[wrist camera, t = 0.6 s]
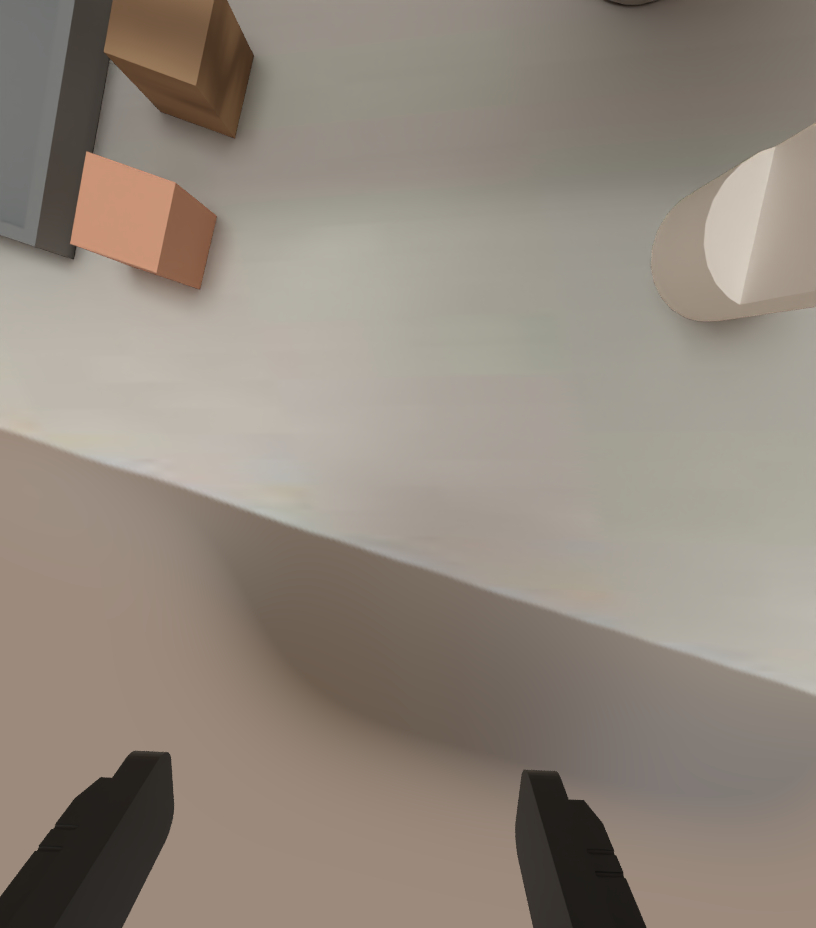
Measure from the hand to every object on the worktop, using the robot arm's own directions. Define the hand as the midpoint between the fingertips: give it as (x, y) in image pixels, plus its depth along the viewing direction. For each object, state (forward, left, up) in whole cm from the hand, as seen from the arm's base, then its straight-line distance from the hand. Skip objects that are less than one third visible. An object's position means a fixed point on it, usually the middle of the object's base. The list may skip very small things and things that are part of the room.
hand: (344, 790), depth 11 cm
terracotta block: (-12, -19, -26) cm, 35 cm away
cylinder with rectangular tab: (-23, +17, -26) cm, 39 cm away
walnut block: (-22, -19, -26) cm, 40 cm away
